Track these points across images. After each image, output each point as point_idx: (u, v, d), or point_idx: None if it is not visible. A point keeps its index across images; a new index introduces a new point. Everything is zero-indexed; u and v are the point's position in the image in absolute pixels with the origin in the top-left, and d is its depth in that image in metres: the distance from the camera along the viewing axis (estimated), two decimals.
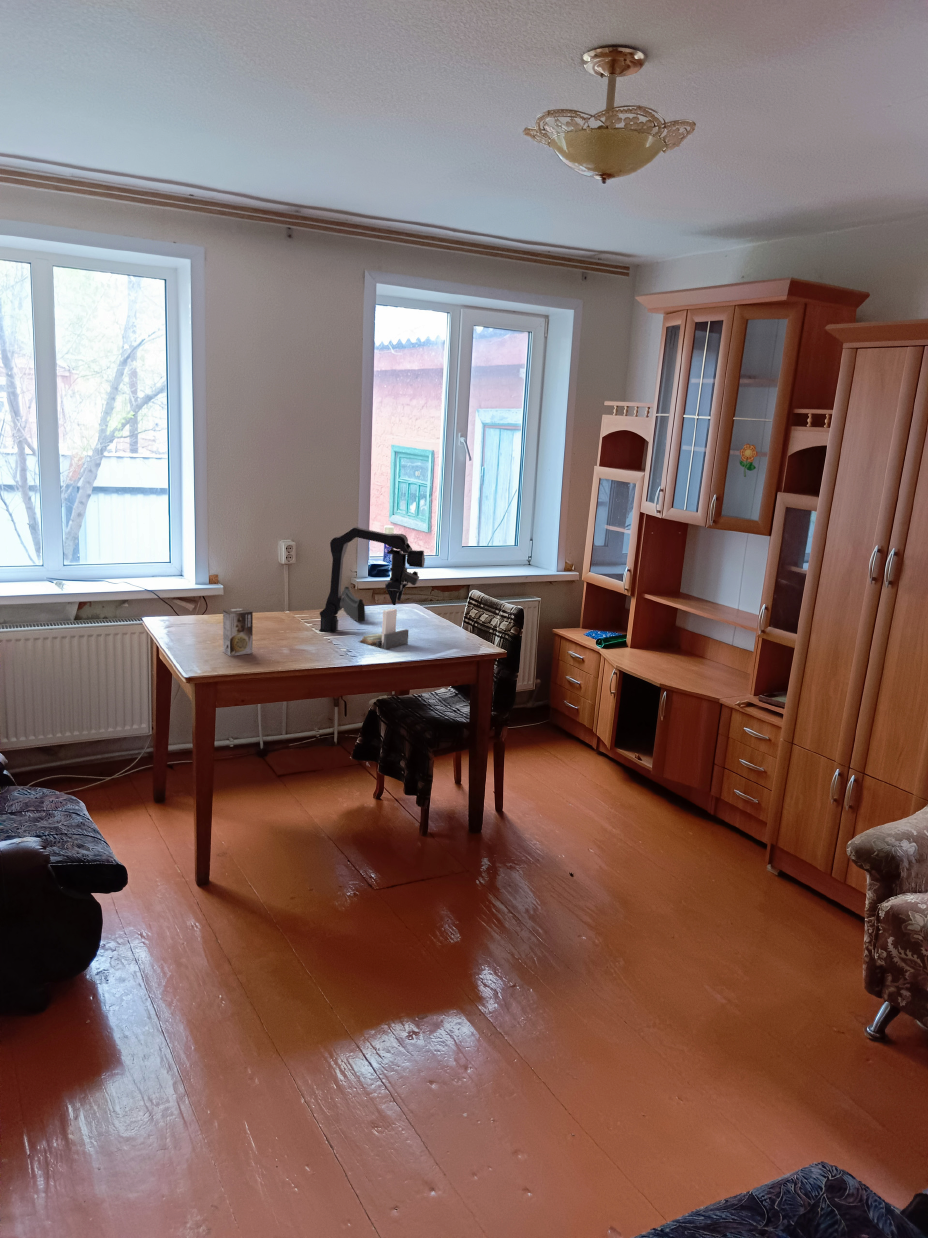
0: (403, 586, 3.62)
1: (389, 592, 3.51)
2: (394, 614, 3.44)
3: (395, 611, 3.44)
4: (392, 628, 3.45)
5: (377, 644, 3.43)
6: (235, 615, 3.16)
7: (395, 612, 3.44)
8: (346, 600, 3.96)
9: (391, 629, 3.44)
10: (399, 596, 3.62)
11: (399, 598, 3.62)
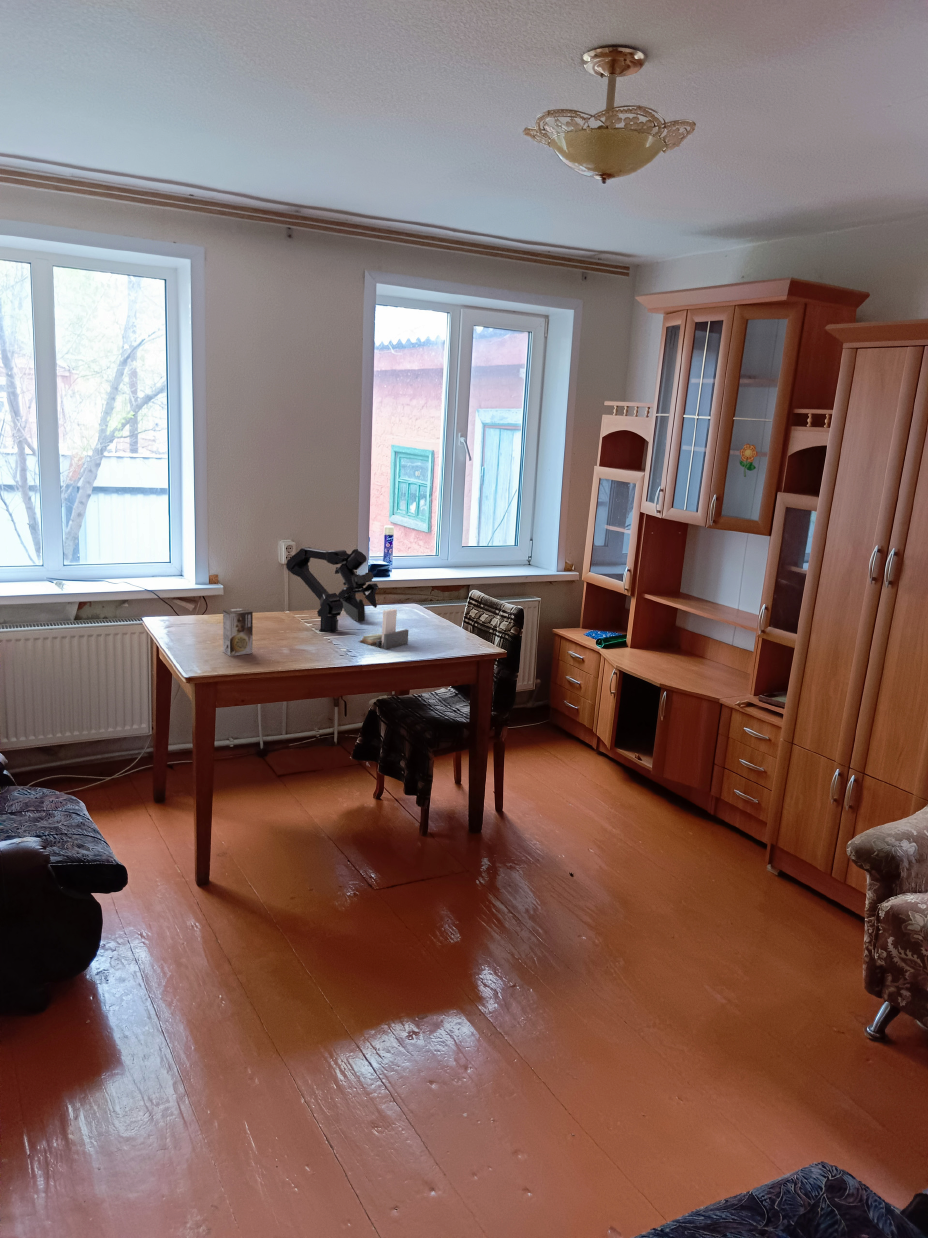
0: (371, 592, 3.54)
1: (348, 602, 3.47)
2: (394, 614, 3.44)
3: (395, 611, 3.44)
4: (392, 628, 3.45)
5: (377, 644, 3.43)
6: (235, 615, 3.16)
7: (395, 612, 3.44)
8: None
9: (391, 629, 3.44)
10: (373, 603, 3.54)
11: (374, 605, 3.54)
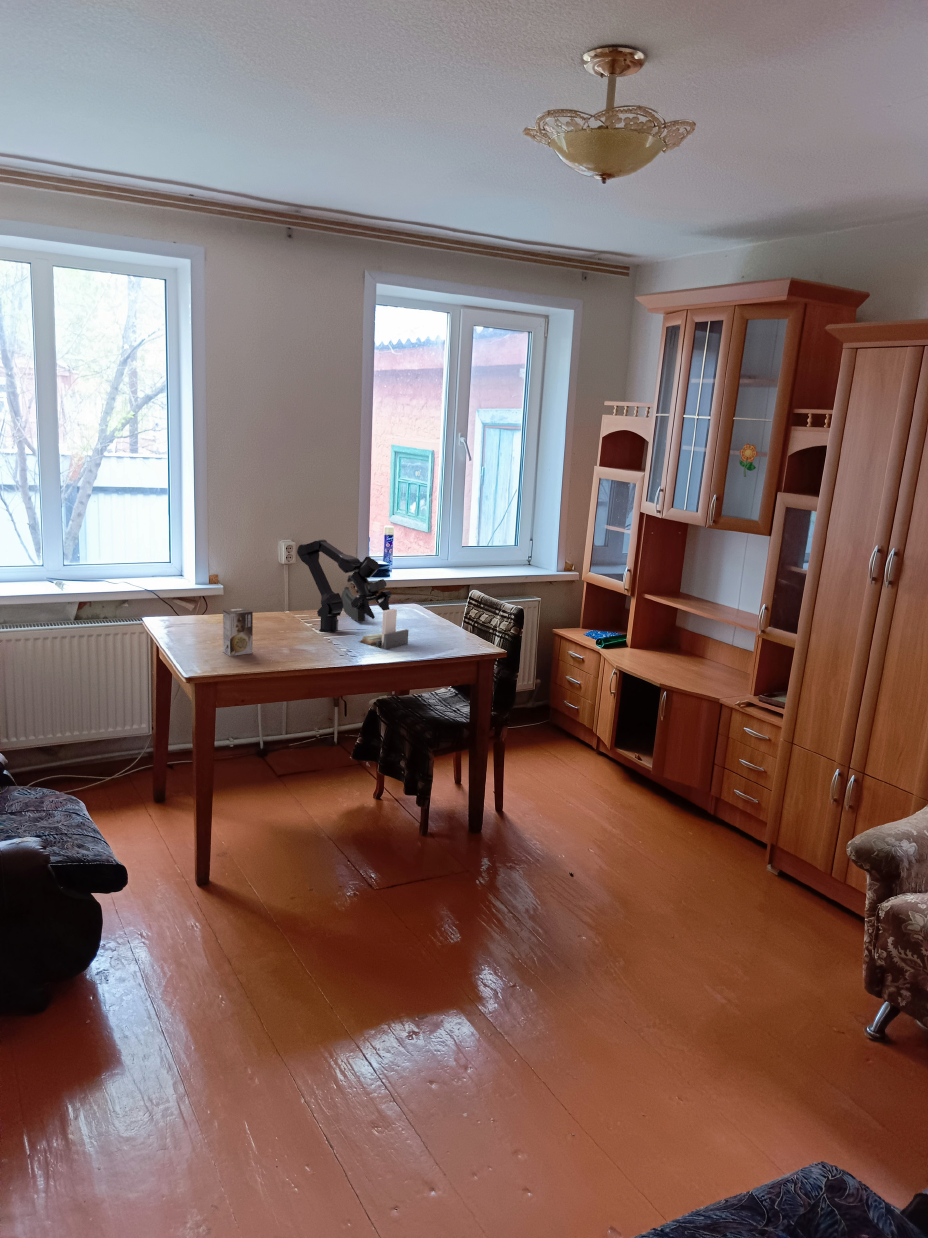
0: (384, 600, 3.50)
1: (361, 610, 3.43)
2: (394, 614, 3.44)
3: (395, 611, 3.44)
4: (392, 628, 3.45)
5: (377, 644, 3.43)
6: (235, 615, 3.16)
7: (395, 612, 3.44)
8: (346, 600, 3.96)
9: (391, 629, 3.44)
10: None
11: None
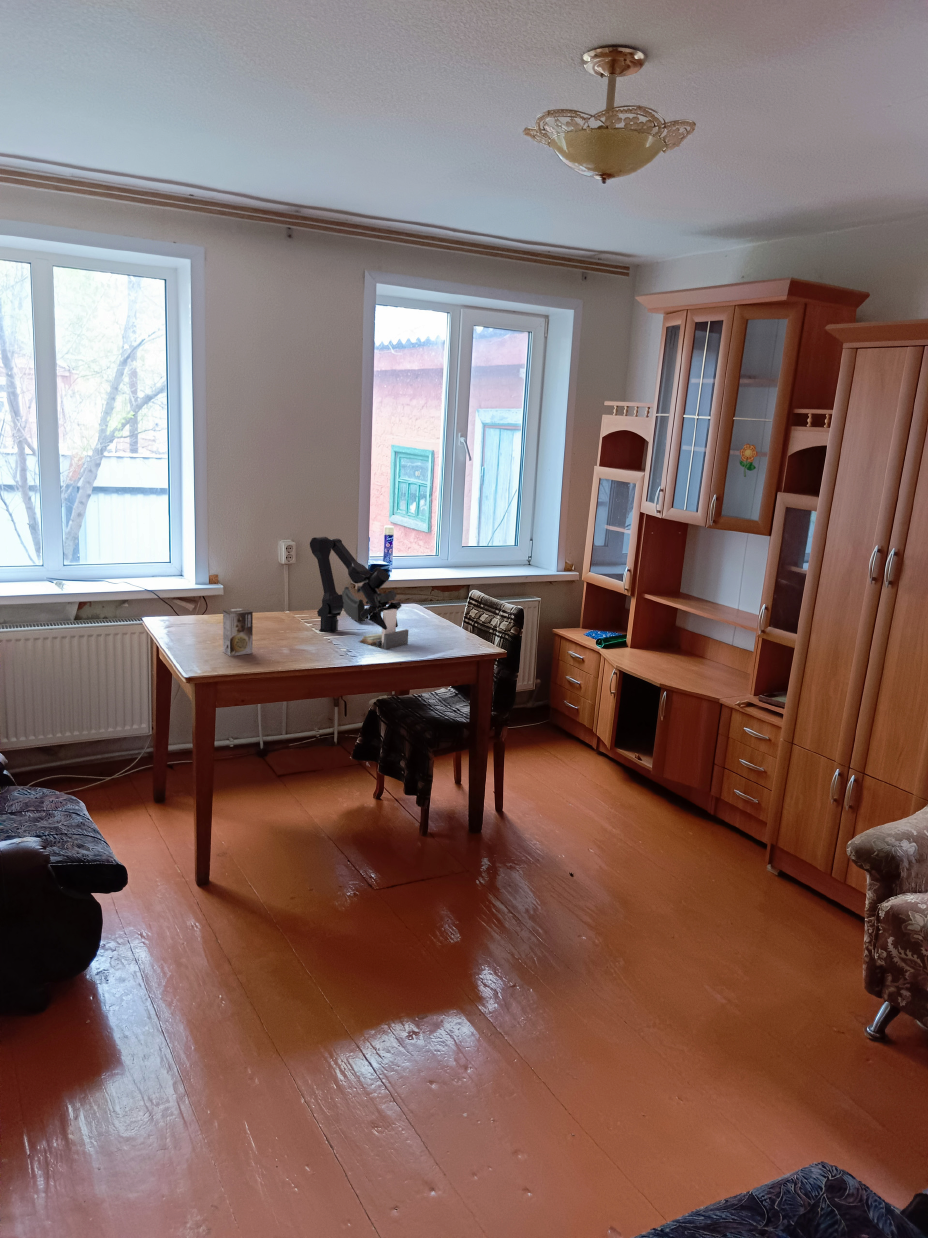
0: None
1: (373, 621, 3.42)
2: (394, 614, 3.44)
3: (395, 611, 3.44)
4: (392, 628, 3.45)
5: (377, 644, 3.43)
6: (235, 615, 3.16)
7: (395, 612, 3.44)
8: (346, 600, 3.96)
9: (391, 629, 3.44)
10: None
11: None
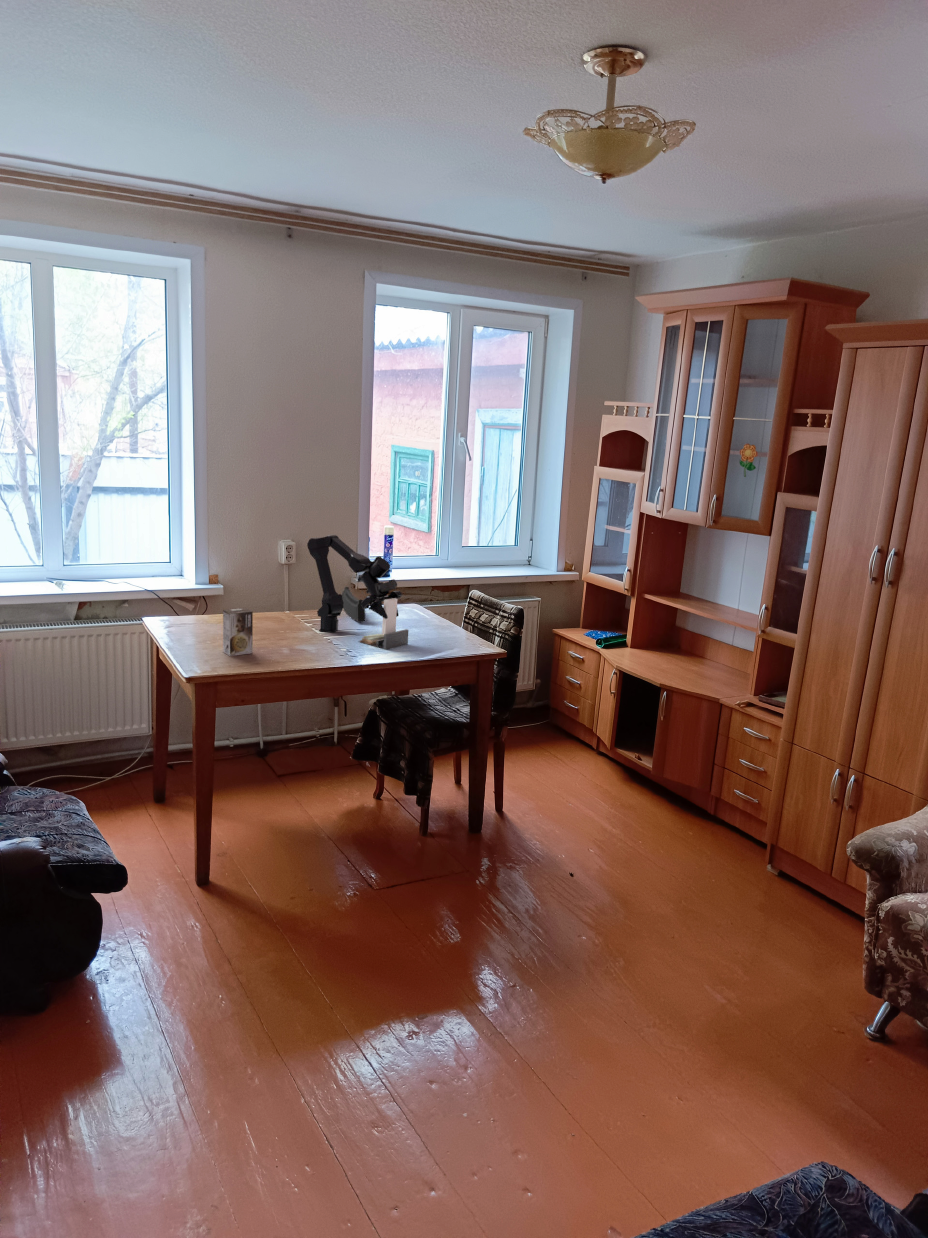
0: None
1: (374, 610, 3.41)
2: (395, 603, 3.43)
3: (396, 600, 3.43)
4: (393, 617, 3.44)
5: (377, 644, 3.43)
6: (235, 615, 3.16)
7: (396, 601, 3.43)
8: (346, 600, 3.96)
9: (392, 618, 3.43)
10: None
11: None
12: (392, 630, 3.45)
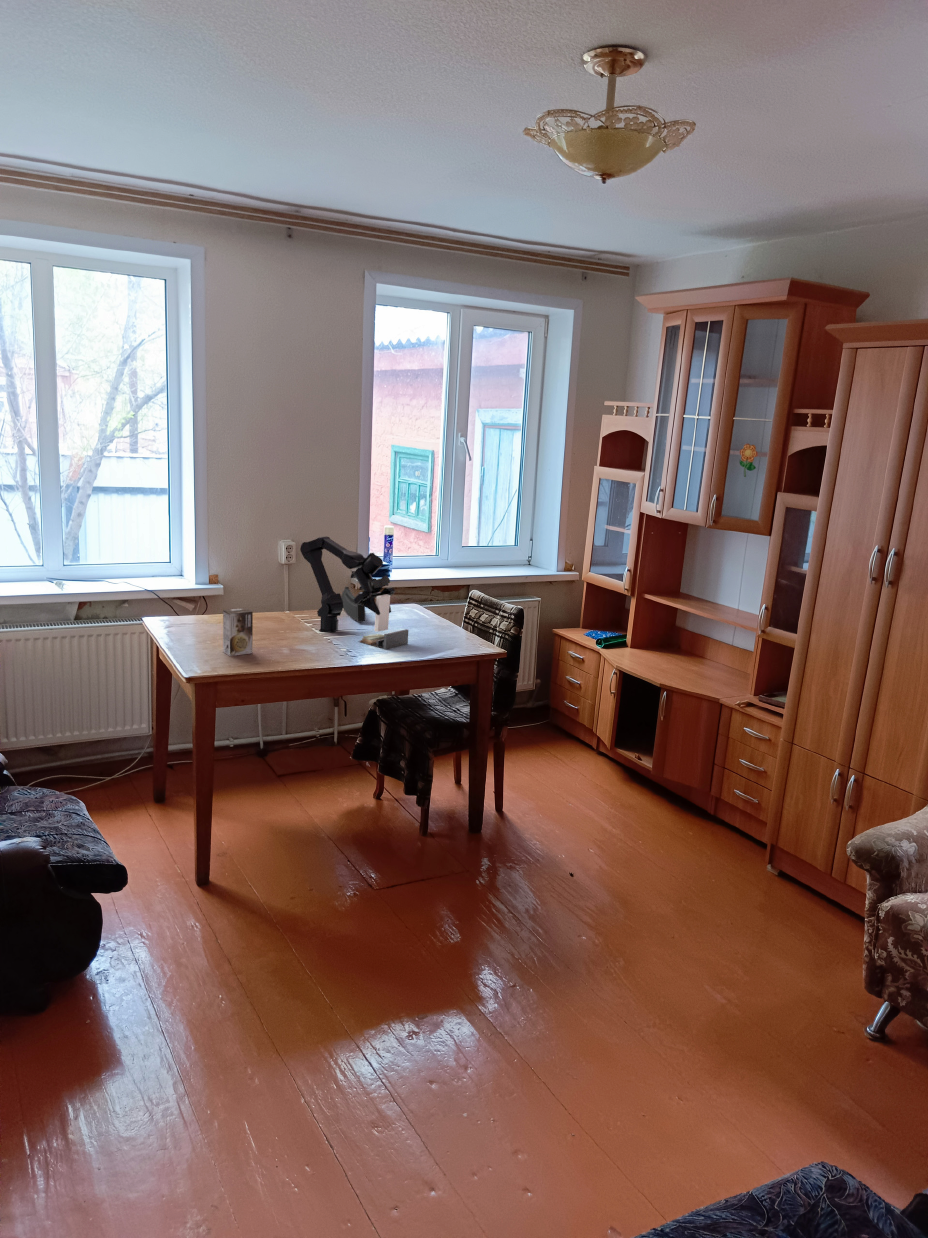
0: None
1: (367, 606, 3.43)
2: (387, 599, 3.45)
3: (388, 597, 3.45)
4: (386, 613, 3.46)
5: (377, 644, 3.43)
6: (235, 615, 3.16)
7: (388, 598, 3.45)
8: (346, 600, 3.96)
9: (385, 614, 3.45)
10: None
11: None
12: (384, 626, 3.47)
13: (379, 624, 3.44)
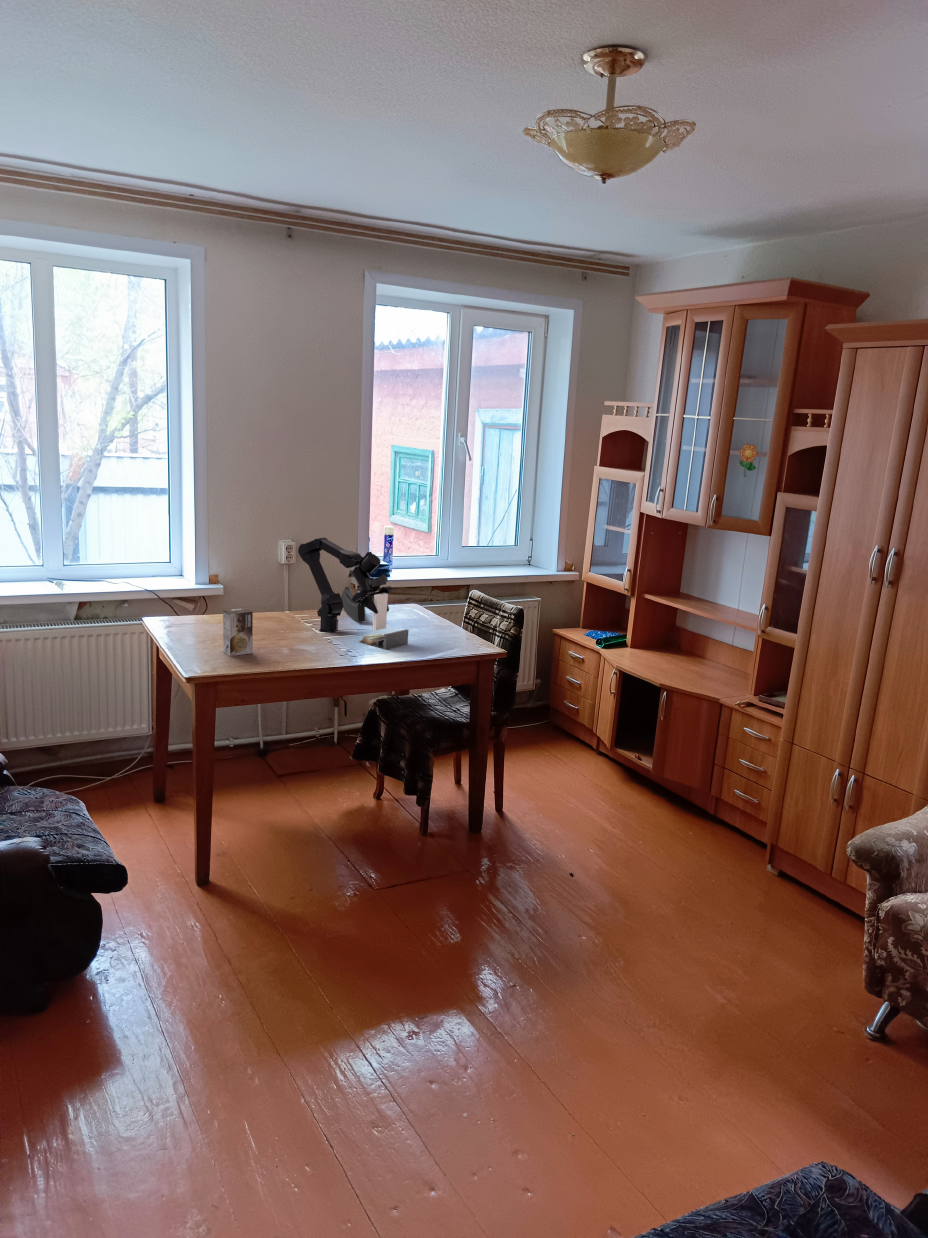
0: None
1: (365, 605, 3.44)
2: (385, 598, 3.46)
3: (386, 595, 3.46)
4: (383, 612, 3.46)
5: (377, 644, 3.43)
6: (235, 615, 3.16)
7: (386, 596, 3.46)
8: (346, 600, 3.96)
9: (383, 613, 3.46)
10: None
11: None
12: (382, 625, 3.47)
13: (377, 623, 3.45)
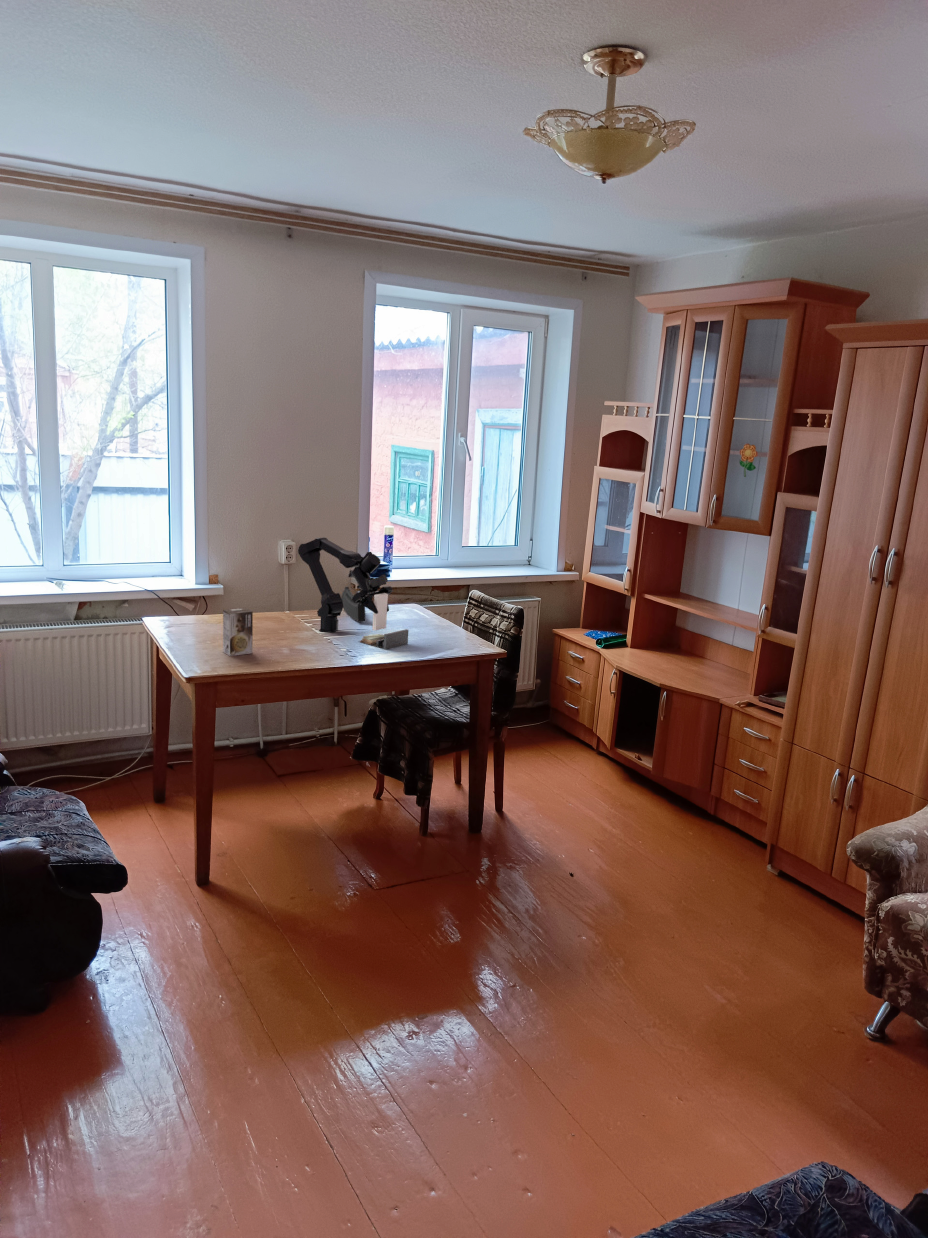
0: None
1: (365, 605, 3.44)
2: (385, 598, 3.46)
3: (386, 595, 3.46)
4: (383, 612, 3.46)
5: (377, 644, 3.43)
6: (235, 615, 3.16)
7: (386, 596, 3.46)
8: (346, 600, 3.96)
9: (383, 613, 3.46)
10: None
11: None
12: (382, 625, 3.47)
13: (377, 623, 3.45)
